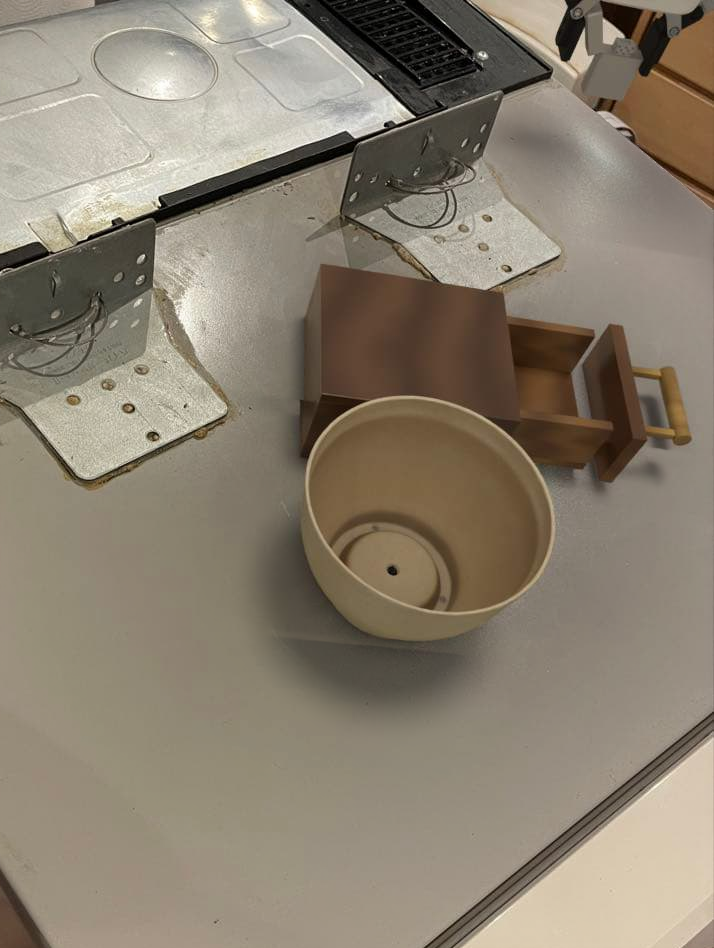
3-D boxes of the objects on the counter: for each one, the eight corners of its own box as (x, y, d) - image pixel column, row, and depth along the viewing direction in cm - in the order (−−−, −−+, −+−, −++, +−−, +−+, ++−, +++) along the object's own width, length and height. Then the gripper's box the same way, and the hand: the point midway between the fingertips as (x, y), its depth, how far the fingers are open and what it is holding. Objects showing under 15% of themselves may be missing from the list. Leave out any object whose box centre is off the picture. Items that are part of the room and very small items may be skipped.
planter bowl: (449, 473, 76) (502, 384, 67) (525, 663, 69) (595, 592, 60) (250, 497, 71) (277, 404, 62) (308, 705, 64) (349, 634, 55)
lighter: (619, 90, 97) (659, 11, 90) (623, 101, 96) (663, 22, 89) (551, 79, 95) (586, -2, 89) (554, 90, 95) (590, 9, 88)
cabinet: (470, 356, 83) (503, 292, 77) (483, 480, 77) (521, 421, 70) (300, 331, 81) (320, 262, 74) (299, 457, 74) (321, 394, 68)
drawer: (646, 380, 85) (682, 334, 80) (671, 490, 79) (711, 448, 74) (439, 349, 82) (462, 300, 77) (449, 462, 76) (475, 416, 71)
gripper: (604, -146, 75) (518, 68, 90) (811, -99, 78) (694, 101, 92) (589, -192, 79) (509, 20, 94) (787, -146, 82) (678, 53, 96)
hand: (602, 59), depth 93 cm, fingers closed on lighter, 7 cm apart
